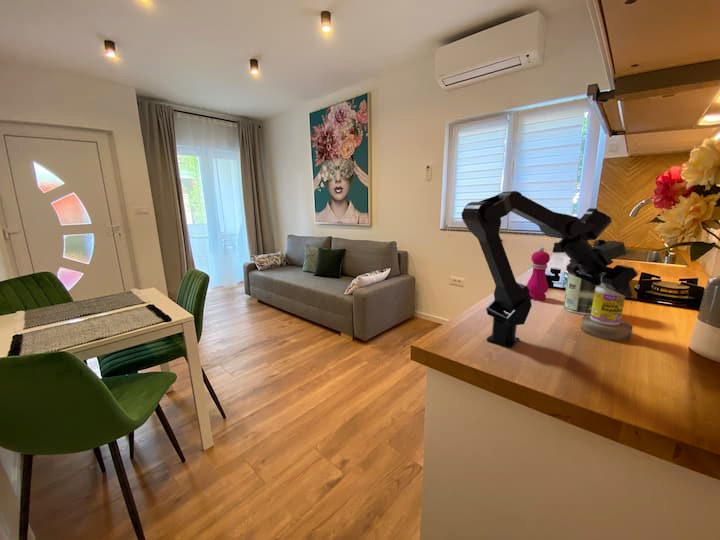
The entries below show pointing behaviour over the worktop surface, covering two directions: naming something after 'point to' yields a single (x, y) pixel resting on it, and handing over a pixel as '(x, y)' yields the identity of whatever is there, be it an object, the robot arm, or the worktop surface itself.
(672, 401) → the worktop surface
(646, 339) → the worktop surface
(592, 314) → the supplement bottle
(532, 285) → the pepper mill
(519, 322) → the robot arm
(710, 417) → the worktop surface
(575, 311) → the coffee can
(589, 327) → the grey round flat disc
